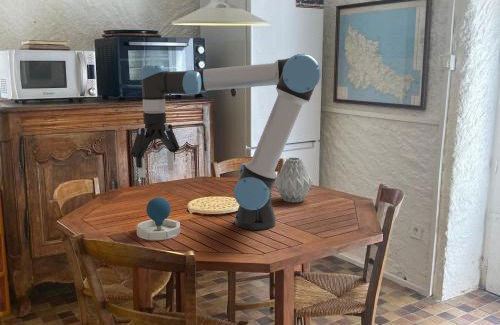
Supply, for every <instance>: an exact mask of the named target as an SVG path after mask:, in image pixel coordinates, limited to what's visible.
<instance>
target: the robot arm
mask: <svg viewBox="0 0 500 325" xmlns="http://www.w3.org/2000/svg"><path fill="white" fill-rule="evenodd" d="M141 67H142V68H141V78H140V80H141V92H142V111H143V114H142V117H143V120H142V121H143V125H144V127H137V129H136V137H135V140H134V142H133V145H132V149H131V152H130V158H131V157H133V158H134V159H135V164H136V165H135V166H136V169H137V177H138V178H146V164H145V163H146V162H145V157H144V155H145V153H146V151H147V150H148V148H149V146H150V144H151V143H152V142H153V141H156V140H160V141H161V142H162V144H164V146H165V148H167V150H168V151H166V155H167V158H166V160H167V171H173V172H174V171H175V169H176V167H175V161H176V153H177V152H179V151H178V150H179V149H180V145H179V143H178V140H177V138H176V135H175V133H174V131H173V129H174V128H173V125H172V124H167V113H166V111H167V110H166V95H189V96H191V95H198V94H199V93H200V92H205V91H217V90H227V89H228V90H230V89H241V88H255V87H269V86H276V87H275V90H276V92H277V93H276V94H277V97H276V99H275V101H274V104H273V105H272V106H273V107H272V109H271V111H270V113H269V116H268V119H267V121H266V124H265V126H264V128H263V131H262V134H261V136H260V139H259V141H258V143H257V145H256V148H255V150H254V152H253V155H252V157H251V160H249V161H247V162H244V163H241V164H240V165H239V170H238V172H239V177H238V180H237V182H236V183H235V186H234V189H233V193H234V194H233V196H234V199H235V201H236V203H237V204H238V209H237V210H236V211H237V212H236V215H235V217H234V218H235V219H234V220H235V221H234V223H235V226H236V227H238V228H240V229H244V230H249V231H250V230H251V231H258V230H259V231H261V230H268V229H271V228H273V227H275V226H276V222H277V219H276V217H277V216H276V215H275V211H274V209H273V205H272V189H273V187H274V185H275V180H276V178H277V175H278V174H277V173H276V171H275V170H276V168H277V166H278V163H279V161H280V159H281V156H282V155H283V152H284V149H285V147H286V144H287V142H288V140H289V137H290V135H291V132H292V130H293V128H294V126H295V123H296V121H297V119H298V116H299V113H300V111H301V109H302V106H303V105H304V104H307V103H309V102H310V99H311V97H312V95H313V92H314V90H315V88H316V86H317V85H318V84H319V82H320V81H321V80H320V79H321V67H320V64H319V62H318V61H317V60H316V59H315V58H314V56H311V55H309V54H305V53H297V54H295V55H294V54H293V55H292V56H291V57H289V58H288V57H287V58H283V59H276V61H275V62H270V63H261V64H249V65H239V66H238V65H237V66H228V67H217V68H206V69H205V68H204V69H191V70H183V71H181V70H180V71H179V70H178V71H168V70H166V69H165V66H164V65H161V64H160V65H155V64H154V65H153V64H152V65H143V66H141Z"/></svg>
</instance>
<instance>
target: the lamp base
mask: <svg viewBox="0 0 500 325" xmlns="http://www.w3.org/2000/svg"><path fill="white" fill-rule="evenodd" d="M136 235H137V237H138V238H140V239H142V240H146V241H166V240H170V239H174V238H176V237H178V236H179V235H181V222H180V221H178V220H175V219H170V218H166V219H165V220H164V221H163V224H162V229H161V230H160V231H158V230H157V226H156V224H155V221H153V220H152V219H148V220H144V221H142V222H139V223H137V226H136Z"/></svg>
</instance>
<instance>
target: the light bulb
mask: <svg viewBox="0 0 500 325" xmlns="http://www.w3.org/2000/svg"><path fill="white" fill-rule="evenodd" d="M171 210H172V209H171V204H170V202H169V201H168V200H167V199H166V198H164V197H161V196H160V197H159V196H158V197H154V198H151V200H149V201H148V203H147V204H146V215H147V216H148V218H149V219H150V220H153V221H155V224H156V226H157V230H158V231H160V230H161V229H162V224H163V221H164V220H165V219H168V217H169V216H170V214H171Z"/></svg>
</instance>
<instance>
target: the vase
mask: <svg viewBox="0 0 500 325" xmlns="http://www.w3.org/2000/svg"><path fill="white" fill-rule="evenodd" d="M276 175H277V178H276V180H275V182H274V185H275V186H276V189H277V192H278V193H279V195H280V197H282V200H283V201H284V202H287V203H302V202H303V201H304V199H305V197H306V196H307V194H308V193H309V190H310V189H311V186H312V185H313V181H312V178H311V176H310V174H309V172H308V170H307V167H306V166H305V165H304V162H303V161H302V158H301V157H287V158H286V160H285V161H284V163H283V164H282V165H281V167H280V171H279V173H278V174H276Z"/></svg>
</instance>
